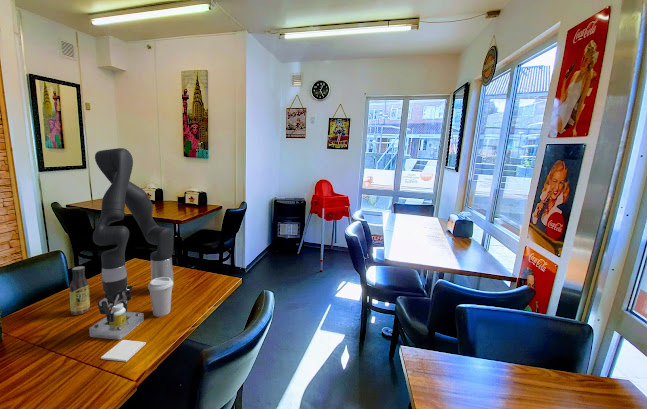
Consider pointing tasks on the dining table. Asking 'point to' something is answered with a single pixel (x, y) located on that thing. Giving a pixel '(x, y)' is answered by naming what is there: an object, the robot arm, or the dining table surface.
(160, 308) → the coffee cup
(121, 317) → the supplement bottle
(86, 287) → the sauce bottle
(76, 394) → the dining table surface
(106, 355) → the mat
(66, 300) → the dining table surface
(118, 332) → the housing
